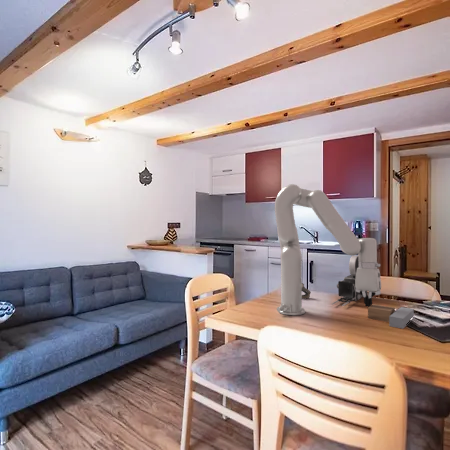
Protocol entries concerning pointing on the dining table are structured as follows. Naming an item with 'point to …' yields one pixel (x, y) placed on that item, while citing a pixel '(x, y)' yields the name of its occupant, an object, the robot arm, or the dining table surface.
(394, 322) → the board
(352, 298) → the film camera
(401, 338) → the dining table surface
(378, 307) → the walnut block
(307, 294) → the futuristic pistol
